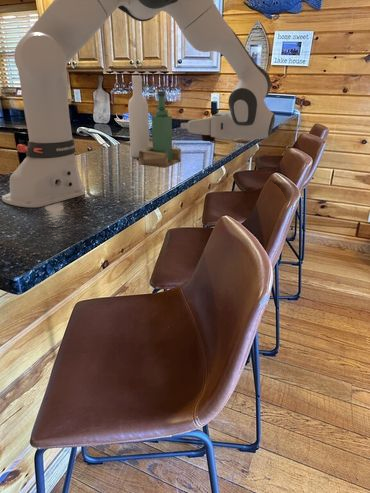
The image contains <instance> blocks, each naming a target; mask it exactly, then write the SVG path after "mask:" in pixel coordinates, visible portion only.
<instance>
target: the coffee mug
mask: <svg viewBox="0 0 370 493" xmlns="http://www.w3.org/2000/svg"><path fill="white" fill-rule="evenodd" d="M215 138H216V137H211V135H202V134H201V141H203V142H214V141H215V140H216V139H215Z"/></svg>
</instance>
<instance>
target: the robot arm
mask: <svg viewBox="0 0 370 493" xmlns="http://www.w3.org/2000/svg"><path fill="white" fill-rule="evenodd" d="M117 8H118V9H119V10H120V11H122V12H123V13H125V14H126V15H128V16H129V17H130V18H132V20H135V21H137V22H148V21H150V20H152V19H153V18H155V17H156V16H157V15H159V13H161V12H164V13H166V14H168V15H169V16H170V17H171V18H173V20H174V21H175V22H176V25H177V27H178V29H179V30H180V31H181V33H182V35H183V36H184V38H185V40H186V41H187V42H188V43H189V44H190V46H191V47H192V48H193V49H195V50H196V51H199V52H203V53H209V52H215V53H216V52H217V53H219V54H221V55H222V56H223V57H224V58H225V60H226V62H227V63H228V64H229V66H230V67H231V69H233V71H234V72H235V75H236V76H237V80H238V82H237V84H236V85H235V87H234V88H233V90H232V91H231V92H230V94H229V98H228V102H227V104H228V109H229V110H220V111H219V112H218V113H216V114H214V115H211V116H210V117H207V118H199V119H192V120H188V122H181V123H180V129H181V130H183V129H184V130H187V131H188V132H189V133H190V134H196V135H201V136H202V135H211V137H215V138H217V139H220V140H236V139H243V140H263V139H266V138H268V137H269V136H271V134H272V132H273V129H274V127H275V119H276V117H275V116H276V115H275V113H274V112H272V111H271V110H270V108H269V107H268V106H267V104H266V102H265V99H266V97H268V95H269V93H270V91H271V89H272V81H271V77H270V76H269V74H268V72H267V71H265V70H264V69H263V67H261V66H259V65H258V63H256V62H255V61H254V59H253V57H252V56H251V54H250V53H249V52H248V50H247V49H246V47H245V46H244V44H243V43H242V41H241V39H240V38H239V36H238V35H237V34H236V32H235V31H234V29H232V28H231V26H230V25H229V24H228V23H227V22H226V20H225V19H224V17H223V15H222V14H221V12H220V10H219V8H218V7H217V6H216V4H215V2H214V0H53V1H52V2H51V3H50V4H49V5H48V7H47V8H46V9H45V10H44V12H43V13H42V14H41V15H40V16H39V18H38V19H37V20H36V22H35V23H34V24H33V25H32V26H31V28H29V30H28V31H27V32H26V33H25V35H24V36H23V37H22V38H21V39H20V40H19V42H18V43H17V45H16V47H15V49H14V52H13V55H14V56H13V58H14V64H15V66H16V68H17V71H18V76H19V84H20V90H21V97H22V102H23V103H22V104H23V112H24V117H25V123H26V128H27V133H28V139H29V140H28V141H27V145H26V144H21V143H19V144H17V146H16V150H17V151H18V153H25V155H26V157H25V158H24V159H23V161H22V162H21V163H20V164H19V165H18V166H17V168H16V169H15V170H14V171H13V173H11V175H10V177H9V182H8V183H9V192H8V193H6V194H4V195H1V200H2V202H4V203H5V204H8V205H12V206H16V207H21V208H22V207H23V208H41V207H45V206H48V205H51V204H52V205H53V204H56V203H60V202H62V201H65V200H70V199H73V198H76V197H80V196H81V197H82V196H84V195H86V192H85V186H84V184H83V181H82V178H81V176H80V170H79V167H78V162H77V158H76V156H75V154H76V151H77V150H76V144H75V140H74V138H73V134H72V125H71V119H70V110H69V83H68V70H67V64H68V63H69V62H70V61H71V60H72V59H73V58H74V57H75V56H76V55H77V54H78V53H79V52H80V51H81V50H82V49H83V47H85V46H86V45H87V44H88V43H89V41H90V40H91V39H92V38H93V37H94V35H95V34H96V33H97V32H98V31H99V30H100V29H101V27H103V25H104V24H105V22H106V21H107V20H108V19H109V18H110V16H111V15H112V14H113V13H114V12H115V11H116V9H117Z"/></svg>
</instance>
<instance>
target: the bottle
mask: <svg viewBox="0 0 370 493" xmlns="http://www.w3.org/2000/svg"><path fill="white" fill-rule="evenodd" d="M142 77H143V76H142V75H132V76H131V82H132V84H131V85H132V96H131V97H130V98H129V100H128V104H127V106H128V110H127V111H128V125H129V126H128V127H129V143H130V144H129V145H130V148H129V149H130V157H131V158H136V159H139V151H141V150H144V149H147V148H150V124H149V122H150V121H149V104H148V101H147V99H146V98H145V97H144V96H143V78H142Z"/></svg>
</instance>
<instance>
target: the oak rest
mask: <svg viewBox="0 0 370 493" xmlns="http://www.w3.org/2000/svg"><path fill="white" fill-rule="evenodd" d="M181 152H182V150H181V148H179V147H172V160H171V161H169V162H168V153H163V152H154V151H153V146H152V147H149V148H147V149H144V150H141V151H139V158H138V159H139V165H140V166H147V167H155V168H162V169H165V168H169V167H171V166H174V165H176V164H179V163H181V162H182V160H181V157H182V156H181V155H182V153H181Z"/></svg>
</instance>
